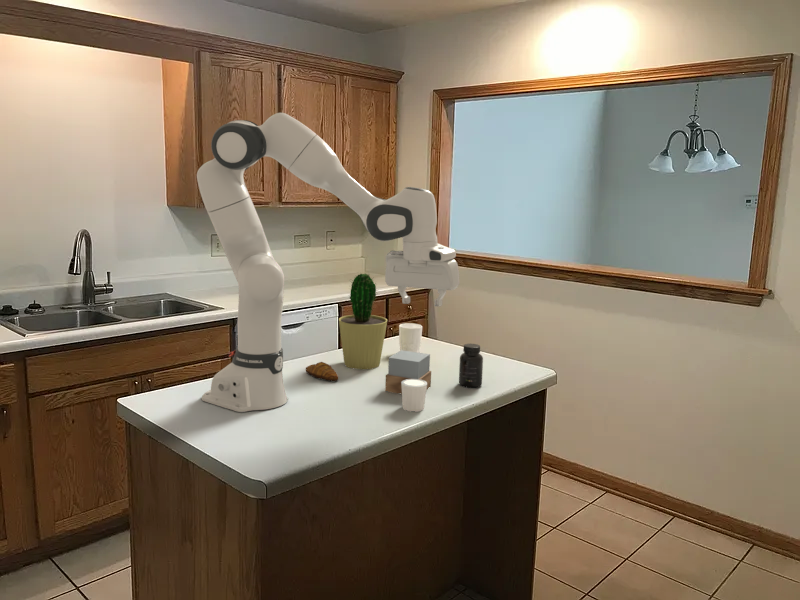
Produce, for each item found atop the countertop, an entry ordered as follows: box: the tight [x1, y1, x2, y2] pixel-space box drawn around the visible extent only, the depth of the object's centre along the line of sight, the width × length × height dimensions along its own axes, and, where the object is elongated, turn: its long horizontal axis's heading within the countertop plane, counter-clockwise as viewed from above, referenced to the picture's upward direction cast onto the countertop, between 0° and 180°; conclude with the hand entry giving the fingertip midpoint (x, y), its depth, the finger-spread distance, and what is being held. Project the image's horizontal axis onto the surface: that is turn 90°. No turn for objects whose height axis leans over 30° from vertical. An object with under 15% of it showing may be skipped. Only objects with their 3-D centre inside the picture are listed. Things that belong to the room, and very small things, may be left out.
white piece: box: [401, 379, 428, 413], centre depth 171 cm, size 7×7×7 cm
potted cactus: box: [338, 273, 388, 370], centre depth 206 cm, size 15×15×30 cm
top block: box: [387, 350, 431, 379], centre depth 185 cm, size 9×9×5 cm
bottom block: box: [384, 370, 432, 395], centre depth 186 cm, size 10×10×5 cm
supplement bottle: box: [458, 343, 484, 389], centre depth 191 cm, size 7×7×12 cm
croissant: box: [305, 361, 339, 382], centre depth 194 cm, size 14×7×5 cm, turn 48°
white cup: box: [398, 322, 423, 353], centre depth 222 cm, size 8×8×10 cm
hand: (422, 304), depth 169 cm, fingers open, 8 cm apart
